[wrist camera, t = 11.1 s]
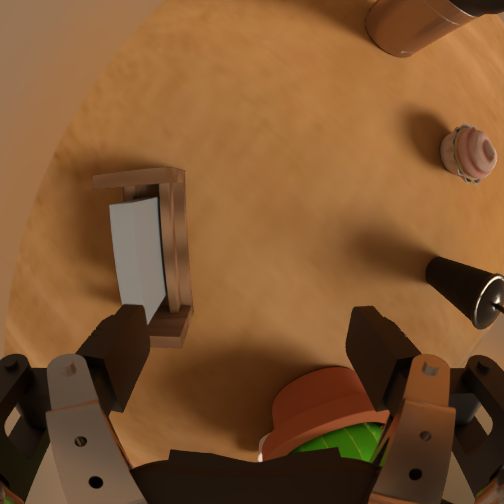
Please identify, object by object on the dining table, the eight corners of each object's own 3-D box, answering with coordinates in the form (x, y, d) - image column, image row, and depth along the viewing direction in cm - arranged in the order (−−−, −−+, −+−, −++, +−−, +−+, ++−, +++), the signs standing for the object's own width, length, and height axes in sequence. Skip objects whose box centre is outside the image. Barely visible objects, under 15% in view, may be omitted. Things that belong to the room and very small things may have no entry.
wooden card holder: (126, 175, 33) (92, 175, 24) (184, 170, 33) (165, 167, 24) (140, 310, 38) (117, 344, 29) (193, 312, 38) (181, 348, 29)
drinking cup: (416, 256, 37) (511, 308, 18) (450, 242, 37) (542, 281, 18) (419, 299, 39) (499, 363, 20) (452, 283, 39) (531, 334, 19)
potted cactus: (361, 331, 40) (444, 450, 16) (385, 406, 45) (435, 498, 21) (236, 388, 42) (236, 527, 17) (287, 449, 47) (304, 549, 23)
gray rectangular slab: (144, 197, 32) (109, 205, 23) (162, 196, 33) (132, 202, 23) (152, 288, 35) (126, 324, 26) (169, 288, 36) (147, 325, 26)
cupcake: (425, 128, 32) (468, 120, 23) (462, 124, 32) (503, 118, 22) (438, 188, 35) (483, 194, 25) (473, 178, 34) (515, 182, 25)
